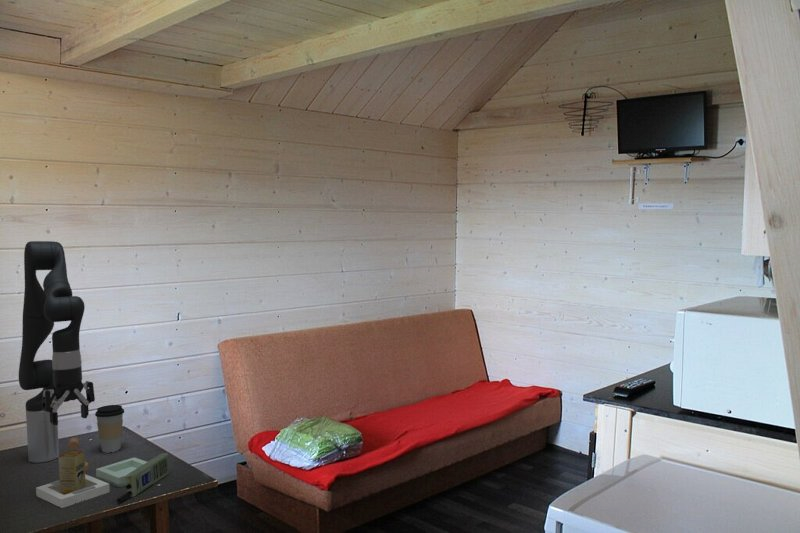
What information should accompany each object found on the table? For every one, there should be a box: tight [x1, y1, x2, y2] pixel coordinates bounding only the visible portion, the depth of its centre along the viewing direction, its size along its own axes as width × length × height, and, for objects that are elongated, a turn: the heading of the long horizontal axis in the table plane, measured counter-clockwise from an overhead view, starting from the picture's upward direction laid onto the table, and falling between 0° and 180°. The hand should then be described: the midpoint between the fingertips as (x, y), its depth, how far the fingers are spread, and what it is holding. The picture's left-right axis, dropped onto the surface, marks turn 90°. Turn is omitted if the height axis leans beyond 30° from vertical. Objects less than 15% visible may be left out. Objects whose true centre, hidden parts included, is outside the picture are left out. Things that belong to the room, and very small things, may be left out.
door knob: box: [67, 437, 90, 471], centre depth 222 cm, size 8×10×8 cm
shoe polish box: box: [57, 450, 86, 495], centre depth 201 cm, size 5×5×12 cm
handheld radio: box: [116, 452, 170, 504], centre depth 205 cm, size 7×3×25 cm
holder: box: [35, 473, 111, 509], centre depth 201 cm, size 15×14×3 cm
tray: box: [95, 457, 148, 488], centre depth 215 cm, size 13×13×3 cm
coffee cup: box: [94, 404, 125, 454], centre depth 240 cm, size 9×9×15 cm
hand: (69, 421), depth 200 cm, fingers open, 8 cm apart
